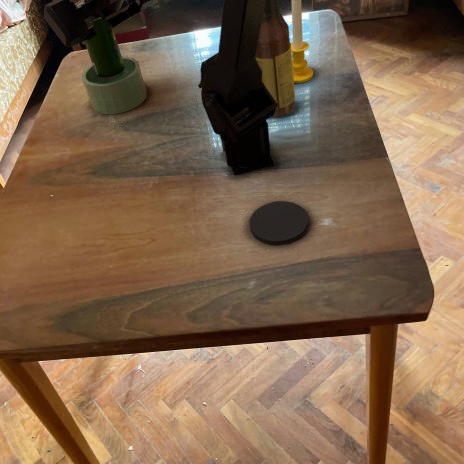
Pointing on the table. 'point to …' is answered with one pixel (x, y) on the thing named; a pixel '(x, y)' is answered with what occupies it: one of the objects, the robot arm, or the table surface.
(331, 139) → the table surface
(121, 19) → the robot arm
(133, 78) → the pot
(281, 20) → the sauce bottle
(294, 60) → the candle
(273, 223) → the black coaster
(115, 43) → the beer can
